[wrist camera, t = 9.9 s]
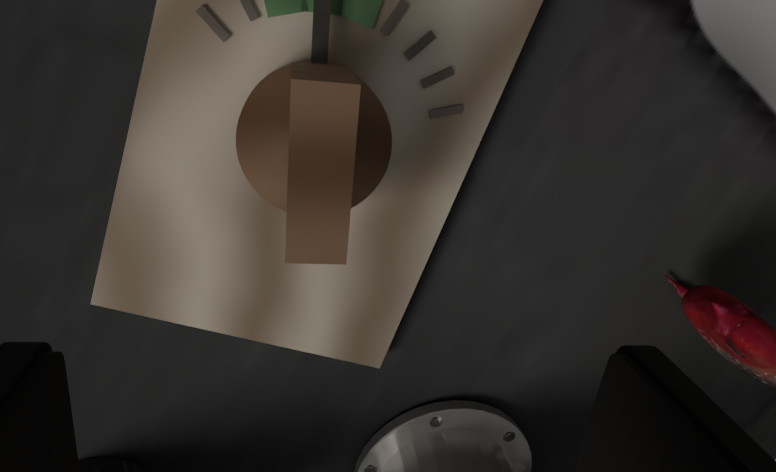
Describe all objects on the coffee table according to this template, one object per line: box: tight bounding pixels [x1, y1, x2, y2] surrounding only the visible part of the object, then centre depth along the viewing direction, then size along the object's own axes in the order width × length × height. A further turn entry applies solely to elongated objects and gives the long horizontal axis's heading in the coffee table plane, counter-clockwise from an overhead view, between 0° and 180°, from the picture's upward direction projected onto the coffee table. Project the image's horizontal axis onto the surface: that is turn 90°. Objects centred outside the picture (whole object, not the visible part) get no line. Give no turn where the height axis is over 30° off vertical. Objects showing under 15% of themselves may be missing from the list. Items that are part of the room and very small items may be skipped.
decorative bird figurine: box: [665, 275, 776, 389], centre depth 32 cm, size 3×18×10 cm, turn 49°
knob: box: [236, 0, 392, 265], centre depth 22 cm, size 10×7×6 cm, turn 174°
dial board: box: [91, 0, 543, 368], centre depth 27 cm, size 16×24×2 cm, turn 159°
